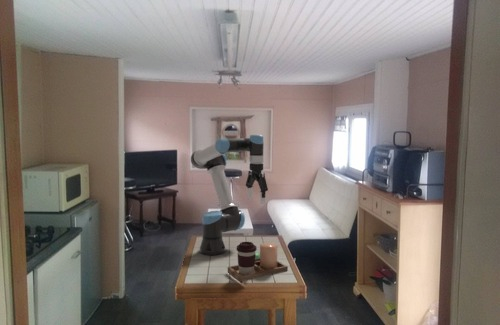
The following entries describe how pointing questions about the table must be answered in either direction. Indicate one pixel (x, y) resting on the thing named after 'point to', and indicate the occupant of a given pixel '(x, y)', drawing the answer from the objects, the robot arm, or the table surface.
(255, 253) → the button
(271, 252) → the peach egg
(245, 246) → the coffee cup
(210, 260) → the table surface
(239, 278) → the divided tray
